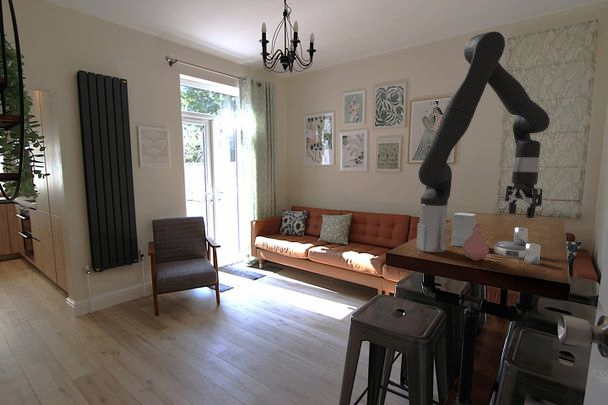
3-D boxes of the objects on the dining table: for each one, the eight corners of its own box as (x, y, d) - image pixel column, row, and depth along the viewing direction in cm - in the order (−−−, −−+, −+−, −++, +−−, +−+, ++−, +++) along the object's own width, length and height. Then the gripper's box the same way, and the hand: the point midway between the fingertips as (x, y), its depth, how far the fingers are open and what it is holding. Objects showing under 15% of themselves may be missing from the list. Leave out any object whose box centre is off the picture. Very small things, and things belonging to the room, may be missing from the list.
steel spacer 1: (529, 246, 111) (531, 229, 110) (518, 246, 111) (520, 229, 110) (521, 243, 115) (522, 227, 114) (510, 243, 115) (512, 227, 114)
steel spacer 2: (530, 264, 101) (531, 246, 100) (521, 260, 105) (522, 243, 104) (542, 264, 101) (544, 246, 100) (532, 260, 105) (534, 243, 104)
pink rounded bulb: (458, 256, 110) (460, 222, 108) (481, 256, 109) (483, 222, 108) (467, 262, 102) (470, 226, 101) (492, 263, 101) (495, 227, 100)
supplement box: (471, 248, 121) (473, 215, 119) (450, 245, 125) (452, 214, 124) (474, 244, 126) (476, 213, 125) (454, 241, 131) (456, 212, 129)
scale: (507, 258, 108) (508, 248, 107) (487, 249, 119) (488, 241, 118) (539, 257, 108) (540, 248, 108) (516, 249, 119) (516, 241, 119)
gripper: (552, 171, 104) (546, 219, 106) (520, 170, 118) (515, 212, 120) (531, 171, 104) (525, 219, 106) (501, 169, 118) (497, 212, 120)
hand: (520, 215), depth 113 cm, fingers open, 8 cm apart
